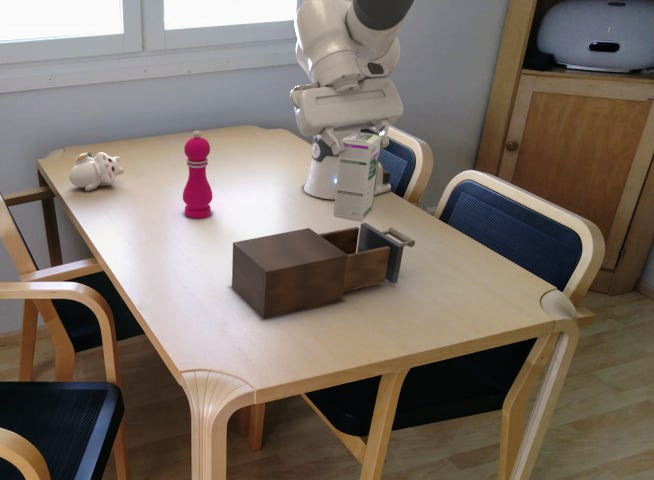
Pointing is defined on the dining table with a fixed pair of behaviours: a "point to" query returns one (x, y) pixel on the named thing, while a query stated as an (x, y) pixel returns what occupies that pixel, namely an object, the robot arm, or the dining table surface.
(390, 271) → the drawer
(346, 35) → the robot arm
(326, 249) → the cabinet
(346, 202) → the syrup box
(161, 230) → the dining table surface
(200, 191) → the pepper mill
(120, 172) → the cat figurine
